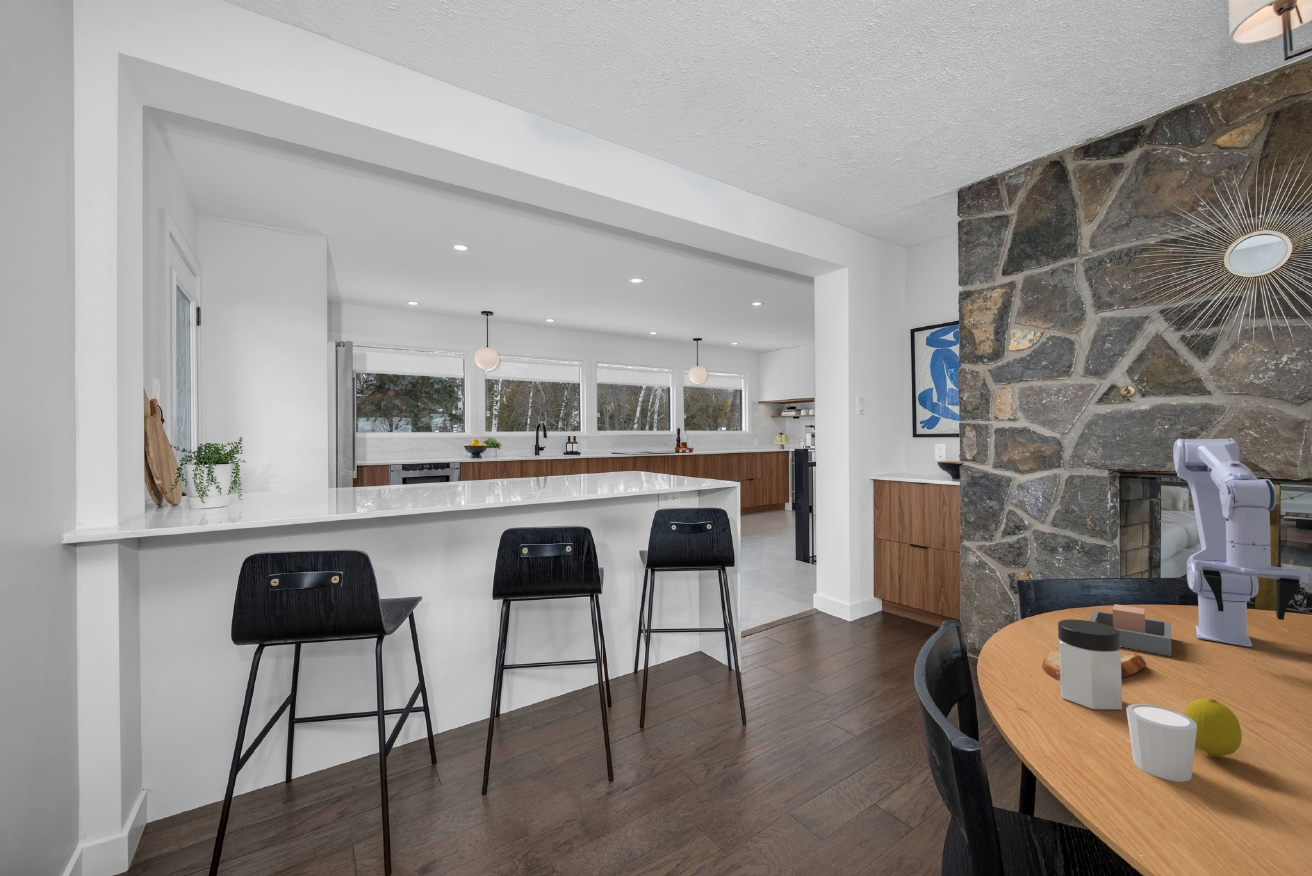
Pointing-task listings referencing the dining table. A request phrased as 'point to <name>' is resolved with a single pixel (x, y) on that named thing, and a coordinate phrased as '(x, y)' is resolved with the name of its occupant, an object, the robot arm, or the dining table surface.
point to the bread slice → (1128, 664)
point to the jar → (1090, 664)
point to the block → (1129, 618)
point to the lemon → (1215, 727)
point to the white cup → (1162, 741)
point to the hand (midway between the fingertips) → (1249, 614)
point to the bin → (1141, 634)
